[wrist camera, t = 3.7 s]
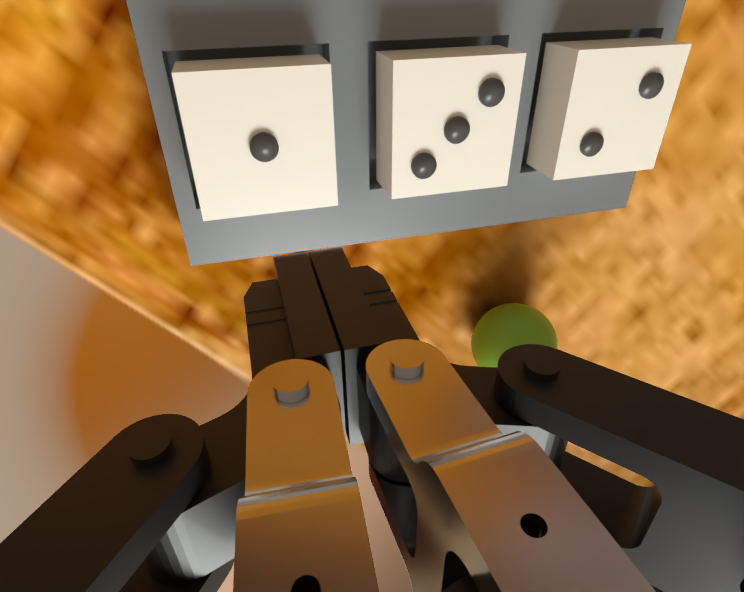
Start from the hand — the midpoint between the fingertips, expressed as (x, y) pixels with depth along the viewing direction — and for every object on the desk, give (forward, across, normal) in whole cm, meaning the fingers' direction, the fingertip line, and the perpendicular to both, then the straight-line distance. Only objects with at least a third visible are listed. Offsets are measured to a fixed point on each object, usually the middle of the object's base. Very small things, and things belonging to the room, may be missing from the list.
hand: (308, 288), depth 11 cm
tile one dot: (+13, 0, 0) cm, 13 cm away
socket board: (+16, -8, 0) cm, 17 cm away
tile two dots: (+13, -16, 0) cm, 20 cm away
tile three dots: (+13, -8, 0) cm, 15 cm away
